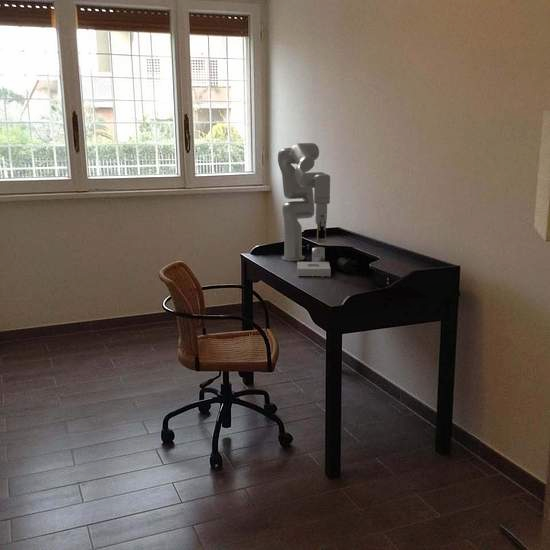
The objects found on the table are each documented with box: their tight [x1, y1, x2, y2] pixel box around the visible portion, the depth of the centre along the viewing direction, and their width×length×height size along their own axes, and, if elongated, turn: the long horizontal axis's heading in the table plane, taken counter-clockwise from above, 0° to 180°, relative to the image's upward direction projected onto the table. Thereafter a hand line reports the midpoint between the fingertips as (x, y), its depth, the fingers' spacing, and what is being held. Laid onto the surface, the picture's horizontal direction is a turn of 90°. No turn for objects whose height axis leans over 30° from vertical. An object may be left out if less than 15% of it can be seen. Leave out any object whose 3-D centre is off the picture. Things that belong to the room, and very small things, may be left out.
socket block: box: [296, 261, 332, 278], centre depth 315 cm, size 16×16×4 cm
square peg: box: [316, 223, 327, 244], centre depth 308 cm, size 4×4×10 cm
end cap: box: [336, 256, 358, 275], centre depth 317 cm, size 10×7×7 cm
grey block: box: [311, 246, 326, 262], centre depth 328 cm, size 7×7×10 cm
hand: (321, 237), depth 309 cm, fingers closed on square peg, 4 cm apart
